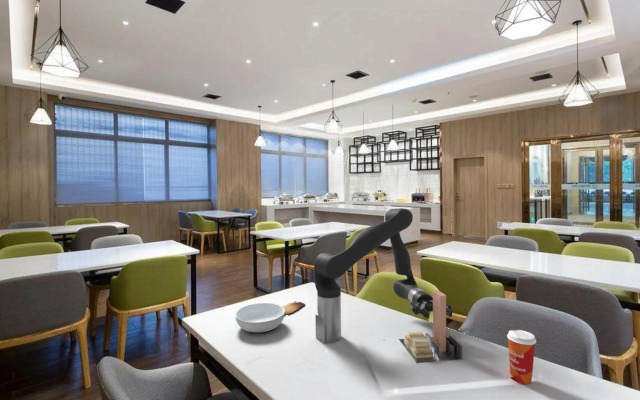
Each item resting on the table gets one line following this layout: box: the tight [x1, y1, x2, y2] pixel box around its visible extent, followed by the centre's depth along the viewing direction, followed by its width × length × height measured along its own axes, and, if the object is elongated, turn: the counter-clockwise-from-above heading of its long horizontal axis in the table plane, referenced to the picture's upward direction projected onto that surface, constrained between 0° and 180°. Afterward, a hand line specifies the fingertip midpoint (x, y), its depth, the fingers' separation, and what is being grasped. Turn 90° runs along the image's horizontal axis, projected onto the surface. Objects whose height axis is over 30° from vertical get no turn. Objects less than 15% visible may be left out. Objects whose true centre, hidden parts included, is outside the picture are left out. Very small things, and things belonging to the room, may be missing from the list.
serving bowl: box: [234, 302, 285, 333], centre depth 141 cm, size 21×21×7 cm
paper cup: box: [506, 329, 537, 385], centre depth 101 cm, size 8×8×14 cm
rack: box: [398, 330, 464, 364], centre depth 119 cm, size 17×16×6 cm
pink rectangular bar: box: [432, 289, 447, 352], centre depth 119 cm, size 6×2×20 cm, turn 7°
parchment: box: [282, 300, 306, 317], centre depth 160 cm, size 25×10×1 cm, turn 146°
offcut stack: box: [403, 331, 433, 358], centre depth 118 cm, size 11×6×5 cm, turn 7°
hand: (439, 315), depth 118 cm, fingers open, 8 cm apart
